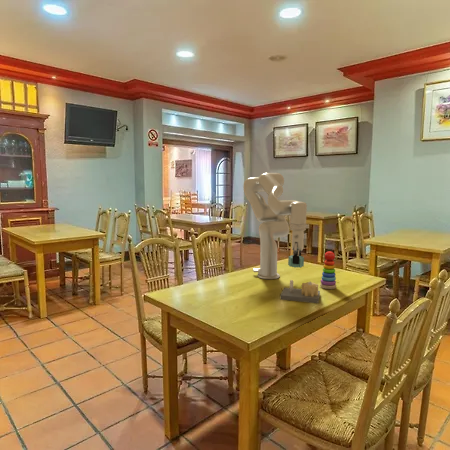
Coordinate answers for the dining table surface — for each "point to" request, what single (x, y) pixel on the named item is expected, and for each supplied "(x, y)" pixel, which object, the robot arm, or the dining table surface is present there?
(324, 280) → the stacking toy
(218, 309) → the dining table surface
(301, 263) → the teal gear
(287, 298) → the gear board
